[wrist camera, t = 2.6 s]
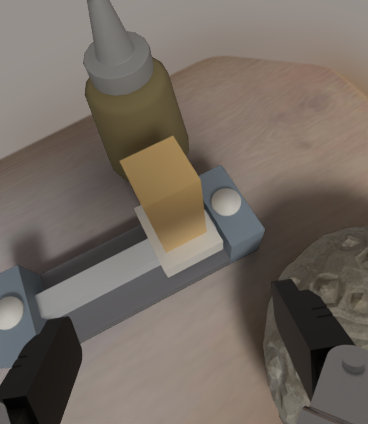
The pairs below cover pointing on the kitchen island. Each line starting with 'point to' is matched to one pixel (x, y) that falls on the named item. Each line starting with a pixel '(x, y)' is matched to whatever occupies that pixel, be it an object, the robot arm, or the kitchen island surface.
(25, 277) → the rail bed
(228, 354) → the kitchen island surface
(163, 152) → the carriage
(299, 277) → the decorative shell
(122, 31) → the squeeze bottle
